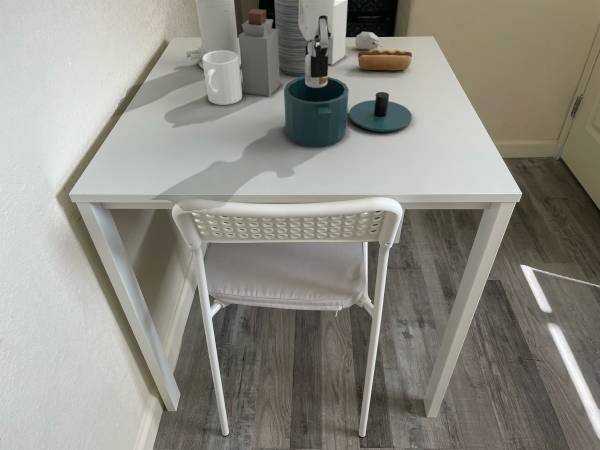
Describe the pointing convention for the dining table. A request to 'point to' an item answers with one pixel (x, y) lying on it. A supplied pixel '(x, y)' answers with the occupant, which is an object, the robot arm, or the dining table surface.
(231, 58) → the mug
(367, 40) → the figurine
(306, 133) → the pot
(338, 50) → the milk carton
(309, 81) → the pill bottle
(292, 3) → the vase
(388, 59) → the food
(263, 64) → the perfume bottle
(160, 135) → the dining table surface
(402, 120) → the lid
